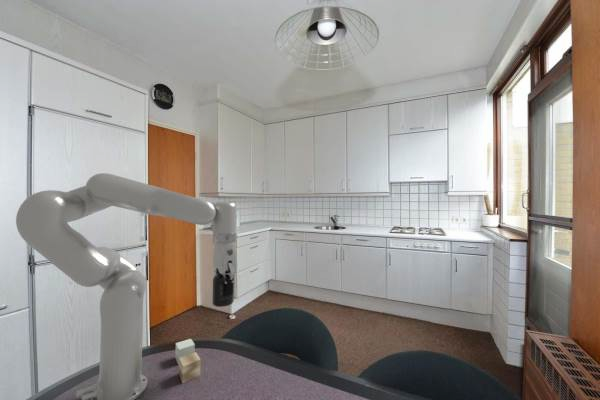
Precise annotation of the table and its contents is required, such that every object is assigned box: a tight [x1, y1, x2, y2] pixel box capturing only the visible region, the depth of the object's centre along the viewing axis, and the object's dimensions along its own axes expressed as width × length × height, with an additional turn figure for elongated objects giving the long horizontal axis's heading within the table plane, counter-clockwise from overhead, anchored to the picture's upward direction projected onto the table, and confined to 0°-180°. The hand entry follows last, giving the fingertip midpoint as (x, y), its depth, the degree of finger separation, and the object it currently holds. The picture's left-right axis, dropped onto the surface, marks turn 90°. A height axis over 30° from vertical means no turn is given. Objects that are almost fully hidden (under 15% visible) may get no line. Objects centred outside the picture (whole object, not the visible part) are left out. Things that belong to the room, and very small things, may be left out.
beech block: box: [178, 352, 202, 384], centre depth 75 cm, size 5×5×5 cm
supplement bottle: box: [211, 268, 235, 308], centre depth 81 cm, size 7×7×12 cm
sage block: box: [175, 338, 196, 366], centre depth 83 cm, size 5×5×5 cm
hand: (223, 291), depth 81 cm, fingers closed on supplement bottle, 6 cm apart
